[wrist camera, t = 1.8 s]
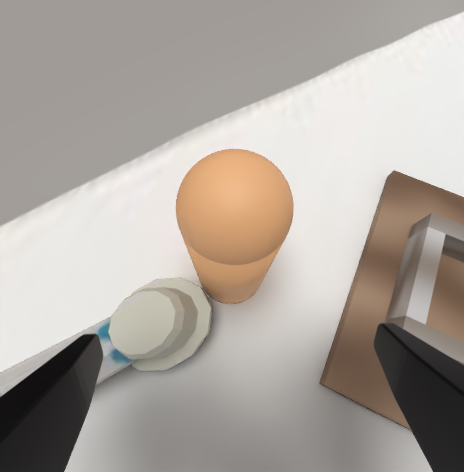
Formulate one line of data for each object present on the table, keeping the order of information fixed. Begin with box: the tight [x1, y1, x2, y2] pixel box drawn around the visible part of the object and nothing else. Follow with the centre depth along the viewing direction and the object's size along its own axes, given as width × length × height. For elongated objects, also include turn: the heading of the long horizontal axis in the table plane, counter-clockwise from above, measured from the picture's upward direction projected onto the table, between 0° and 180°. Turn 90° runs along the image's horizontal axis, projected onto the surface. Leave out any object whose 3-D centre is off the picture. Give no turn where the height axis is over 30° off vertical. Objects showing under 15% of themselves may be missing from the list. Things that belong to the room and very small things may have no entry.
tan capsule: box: [176, 149, 293, 304], centre depth 16 cm, size 5×5×13 cm
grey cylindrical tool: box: [0, 278, 212, 397], centre depth 17 cm, size 5×7×25 cm
